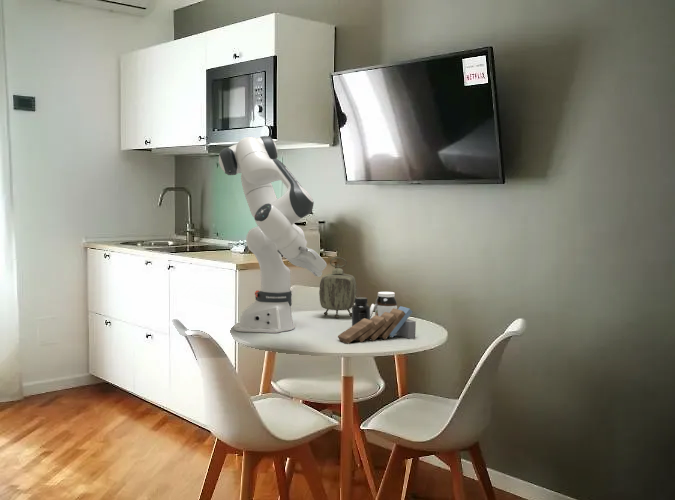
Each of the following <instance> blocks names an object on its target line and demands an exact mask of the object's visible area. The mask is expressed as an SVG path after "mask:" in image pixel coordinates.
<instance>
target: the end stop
mask: <svg viewBox="0 0 675 500" xmlns="http://www.w3.org/2000/svg"><path fill="white" fill-rule="evenodd" d="M416 322H417V321H415V320H412V319H410V318H408V319H407V320H406V321H405V322H404V324H403V325H402V326H401V327H400V329H399V330H398V331H397V333H396V334H395V335H394V336H398V337H402V338H404V339H405V338H406V339H409V340H410V339H416Z"/></svg>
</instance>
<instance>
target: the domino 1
mask: <svg viewBox="0 0 675 500" xmlns="http://www.w3.org/2000/svg"><path fill="white" fill-rule="evenodd" d="M373 326H375V324H374V321H372V320H369V319H365V318H364V319H362V320H361V321H359V322H358V323H356V324H355V325H353V326H352V325H351V327H349V328H347V329H346V330H345V331H343V332H341V333H339V334H338V335H337V338H338V340H339V341H340V342H343V343H345V344H347V345H348V344H350V343H352V342H353V341H356V340H355V339H356V338H357V337H359V336H360V335H362V334H363V333H365V332H366V331H368V330H369V329H371V328H372V327H373Z"/></svg>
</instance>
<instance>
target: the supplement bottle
mask: <svg viewBox="0 0 675 500" xmlns="http://www.w3.org/2000/svg"><path fill="white" fill-rule="evenodd" d="M368 303H369V302H368V297H365V296H363V297H361V296H359V297H357V296H356V298H355V303H354V305H353V307H352V308H351V313H352V317H351V327H352V326H353V325H355V324H356V323H358V322H359V321H361V320H362V319H364V318H365V319H369V320H370V319H371V318H370V307H371V306H369V304H368Z"/></svg>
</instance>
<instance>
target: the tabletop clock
mask: <svg viewBox="0 0 675 500" xmlns="http://www.w3.org/2000/svg"><path fill="white" fill-rule="evenodd" d="M336 259H337V260H343V261H344V263H345V264H342V265H340V264H339V263H337V264H336V265H335V264H332V261H333V260H336ZM347 263H348V262H347V260H346V259H345V258H343V257H341V256H335V257H333V258H330V261H329V265H330V266H332V267H334V269H333V270H332V271H331V273H328V274H326V275H324V276H322V277H321V279H320V282H319V283H320V284H319V292H318V294H319V295H318V296H319V303H320V306H321V308H323V309H325V311H324V312H323V315H324V316H328V314H329V313H328V311H329V310H330V311H331V310H332V311H335V313H336V314H335V315H334V317H335V319H339V317H340V316H339V314H338V312H339V311H348V316H349V317H351V318H352V311H350V309H351V310H352V307H353V305H355V298H357V282H356V277H355V276H354V275H352V274H349V273H348V274H347V273H345V271H344V269H343V268H344V267H346V265H347Z"/></svg>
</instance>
